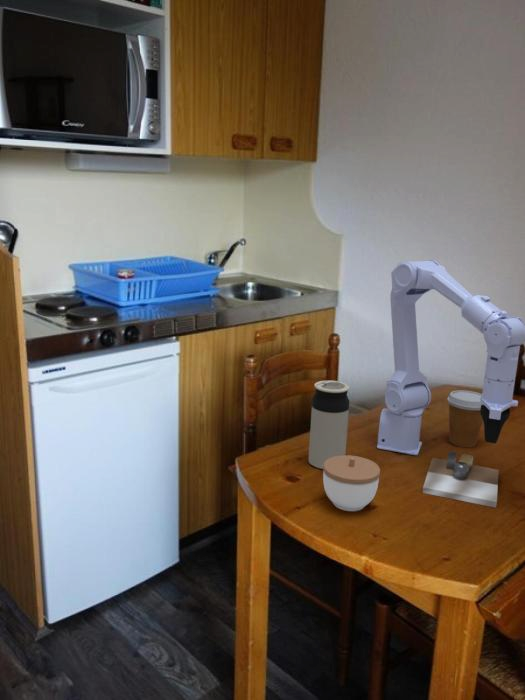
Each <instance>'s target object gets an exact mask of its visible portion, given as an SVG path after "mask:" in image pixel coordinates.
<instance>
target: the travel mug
mask: <svg viewBox="0 0 525 700" xmlns="http://www.w3.org/2000/svg"><path fill="white" fill-rule="evenodd" d="M313 385H314V386H313V387H314V389H315V393H314V395H313V396H312V400H311V413H310V414H311V415H310V428H309V429H310V430H309V432H310V433H309V442H308V443H309V445H308V447H309V448H308V463H309V465H312V466H313V467H315V468H317V469H321V470H323V464H324V462H325V461H326V460H327V459H329V458H331V457H334V456H341V455H346V450H347V449H346V448H347V437H348V426H349V425H348V424H349V414H350V413H349V411H350V399H349V397H348V391H349V390H350V386H349V385H348V384H347V383H345V382H341V381H339V380H331V379H330V380H329V379H328V380H320V381H317V382H315V383H314V384H313Z"/></svg>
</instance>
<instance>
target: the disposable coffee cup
mask: <svg viewBox="0 0 525 700" xmlns="http://www.w3.org/2000/svg"><path fill="white" fill-rule="evenodd" d="M481 396H482V393H480V392H476V391H472V390H453V391H451V392H450V393H449V395H448V397H447V402H448V417H449V418H448V419H449V420H448V426H449V428H448V430H449V431H448V432H449V434H448V435H449V438H448V440H449V443H450V444H452V445H454V446H458V447H461V448H472V447H476V445H477V443H478V439H479V435H480V431H481V428H482V424H483V418H482V416H481V413H480V408H481V405H484V404H483V403H482V402H481V401H480V398H481Z"/></svg>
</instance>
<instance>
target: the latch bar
mask: <svg viewBox="0 0 525 700" xmlns="http://www.w3.org/2000/svg"><path fill="white" fill-rule="evenodd" d="M473 461H474V456H473V455H471V454H466V453H463V454H462V455H461V456H460V458H459V460H458V461H456V462H455V464H454V471H453V476H454V477H456V478H458V479H466V478H467V474H468V472H469V470H470V468H471V466H472V465H473Z"/></svg>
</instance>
